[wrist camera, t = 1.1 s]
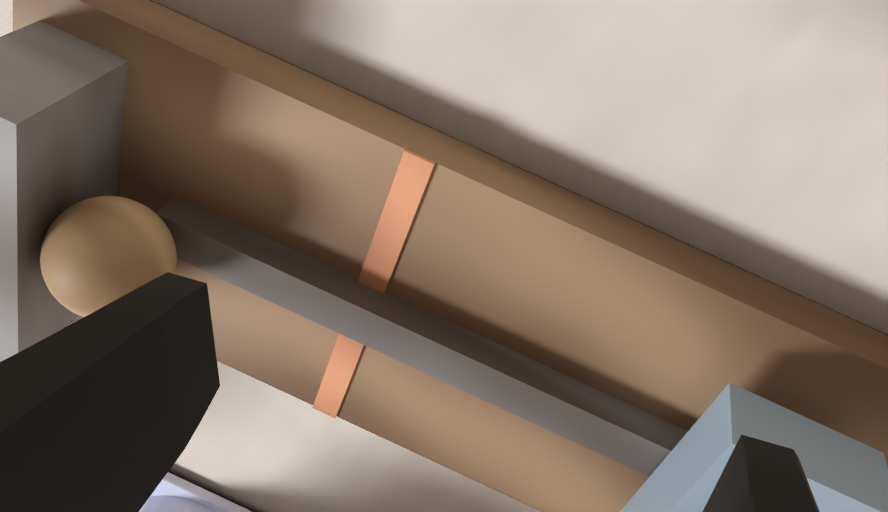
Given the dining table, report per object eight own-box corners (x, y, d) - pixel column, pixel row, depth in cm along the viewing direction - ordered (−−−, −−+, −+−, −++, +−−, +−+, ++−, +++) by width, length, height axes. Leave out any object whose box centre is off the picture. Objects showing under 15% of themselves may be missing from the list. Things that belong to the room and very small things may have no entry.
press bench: (810, 596, 26) (834, 783, 21) (47, 242, 26) (-92, 349, 22) (1050, 409, 20) (1155, 613, 15) (53, -44, 20) (-136, 20, 16)
